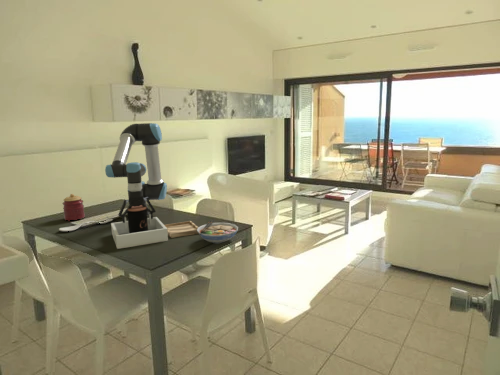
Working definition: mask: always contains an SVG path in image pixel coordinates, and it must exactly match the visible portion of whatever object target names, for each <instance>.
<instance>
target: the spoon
mask: <svg viewBox="0 0 500 375" xmlns="http://www.w3.org/2000/svg"><path fill="white" fill-rule="evenodd" d="M104 218H108V220H106V221H104V222H99V223H100V224H101V225H103V224H106V223H109V222H112V221H113V220H114V218H109V216H105V217H104ZM95 221H96V220H90V221H84V222H81V223H79V224H76V225H72V226H65V227H60V228H58V230H59V231H60V232H64V233H65V232H66V233H69V232H73V231H75V230H77V229H79V228H81V225H82V226H83V224H84V225H87V224H91V223H92V222H95ZM99 223H98V224H99ZM92 224H93V223H92ZM68 231H69V232H68Z"/></svg>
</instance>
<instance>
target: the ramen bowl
mask: <svg viewBox="0 0 500 375" xmlns="http://www.w3.org/2000/svg"><path fill="white" fill-rule="evenodd" d="M197 227H198V229H197V232H198V233H199V234H198V235H199V236H200V237H201V238H202V239H203V240H205V241H207V242H209V243H213V244H222V243H225V242H227V241H230V239H232V238H234V237H235V235H236V234H237V232H238V231H239V226H237V225H236V224H234V223H229V222H215V220H213V219H212V220H211V219H210V220H209V221H208V222H207V223H205V224H203V225H200V226H197Z"/></svg>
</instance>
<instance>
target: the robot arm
mask: <svg viewBox="0 0 500 375" xmlns="http://www.w3.org/2000/svg"><path fill="white" fill-rule="evenodd" d="M162 140H163V136H162V130H161V127H160V125H159V124H158V123H155V122H154V123H152V122H148V123H147V122H146V123H143V122H142V123H133V124H130V125H128V126H127V127H126V128H124V129H123V131H122V132H121V133H120V136H119V144H118V146H117V149H116V152H115V154H114V158H113V159H112V160H113V161H112V163H110V164H107V165H106V166H105V169H104V171H105V175H106V177H107V178H115V179H116V178H127V194H128V199H125V198H124V199H123V200H122V201H123V202H122V205H121V207H120V209H119V212H118V215H117V216H118V217H119V218H121V220H122V221H121V222H123V223H125V229H127V223H126V221H127V213H128V209H131V208H132V206H134V207H136V206H140V205H142V206H143V207H146V210H147V216H148V218H149V224H150V225H151V219H153V213H156V210H155V208H154V206H153V205H152V203H151V202H150V201H160V200H164V199H166V196H167V190H168V189H167V187H168V184H167V182H165V181H164V179H162V174H161V173H162V172H161V163H160V155H159V154H160V153H159V145H160V143H161V141H162ZM136 142H141V144H142V146H143V147H144V152H145V161H146V165H145V164H144V163H142V162H137V161H136V162H135V161H134V162H128V159H129V155H130V152H131V149H132V147H133V145H134V144H135V143H136ZM127 162H128V163H127ZM146 173H147V177H148V178H147V179H148V180H147V181H146V183H145V181H142V177H143V176H144V175H145V174H146ZM127 204H128V206H127V207H126V205H127ZM148 206H149V207H148ZM125 207H126V208H125ZM150 209H151V210H150Z"/></svg>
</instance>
